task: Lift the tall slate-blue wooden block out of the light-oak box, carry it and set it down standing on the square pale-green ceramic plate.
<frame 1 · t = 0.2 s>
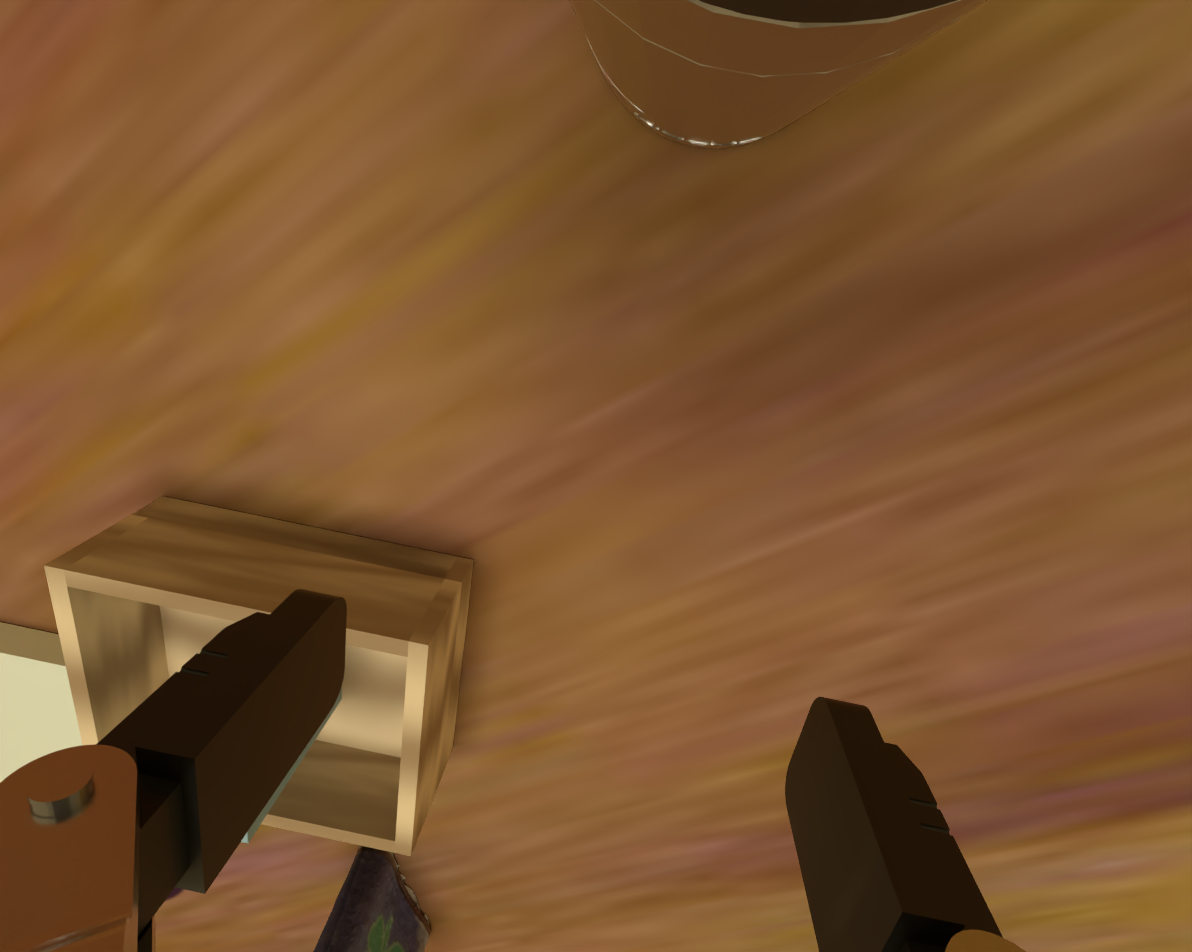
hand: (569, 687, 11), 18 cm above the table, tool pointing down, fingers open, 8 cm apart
block: (298, 655, 32), point 2 cm above the table, touching crate
plate: (45, 719, 38), on the table
crate: (318, 631, 33), on the table
flask: (395, 887, 42), on the table
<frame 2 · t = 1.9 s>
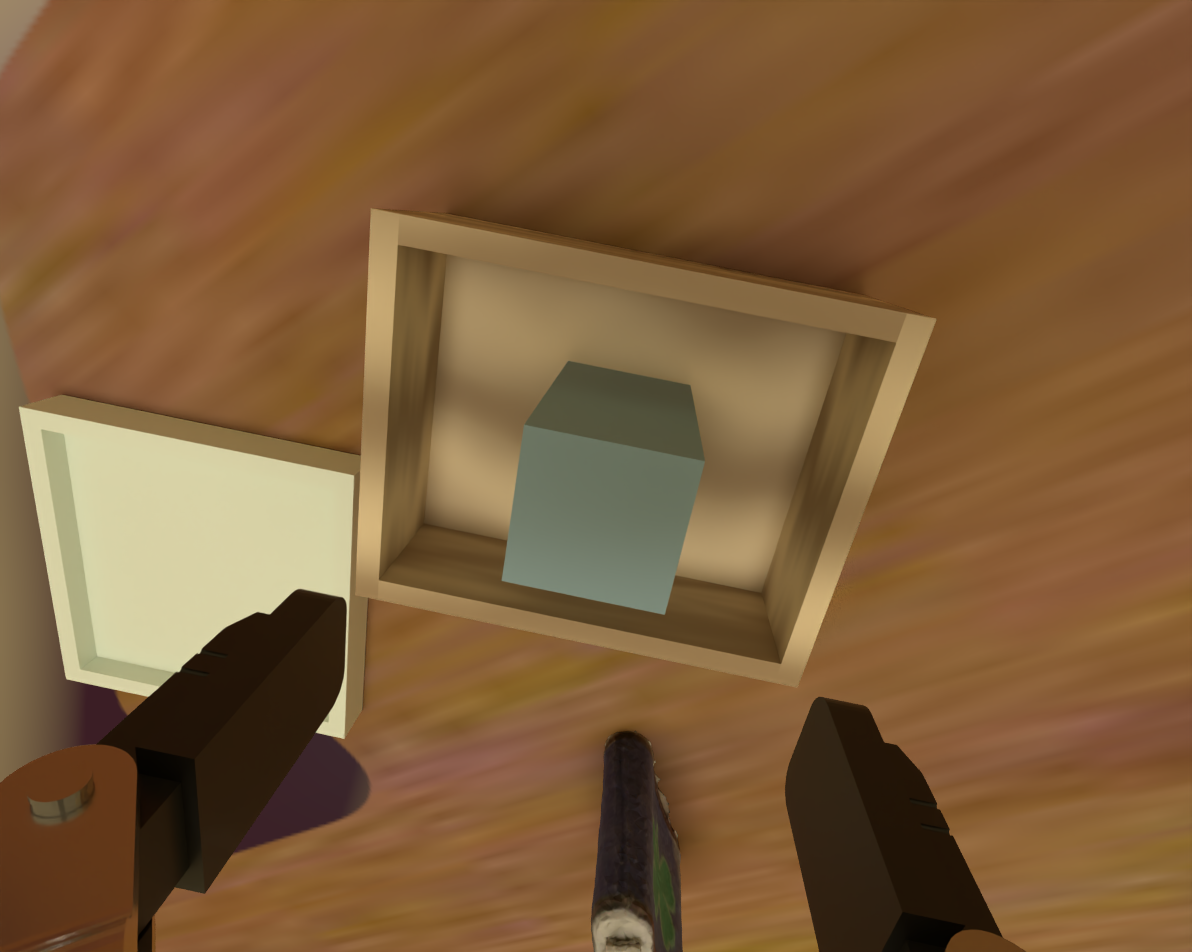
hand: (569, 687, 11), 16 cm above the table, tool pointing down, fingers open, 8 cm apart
block: (617, 431, 24), point 2 cm above the table, touching crate
plate: (224, 565, 30), on the table
crate: (620, 416, 26), on the table
flask: (641, 794, 33), on the table
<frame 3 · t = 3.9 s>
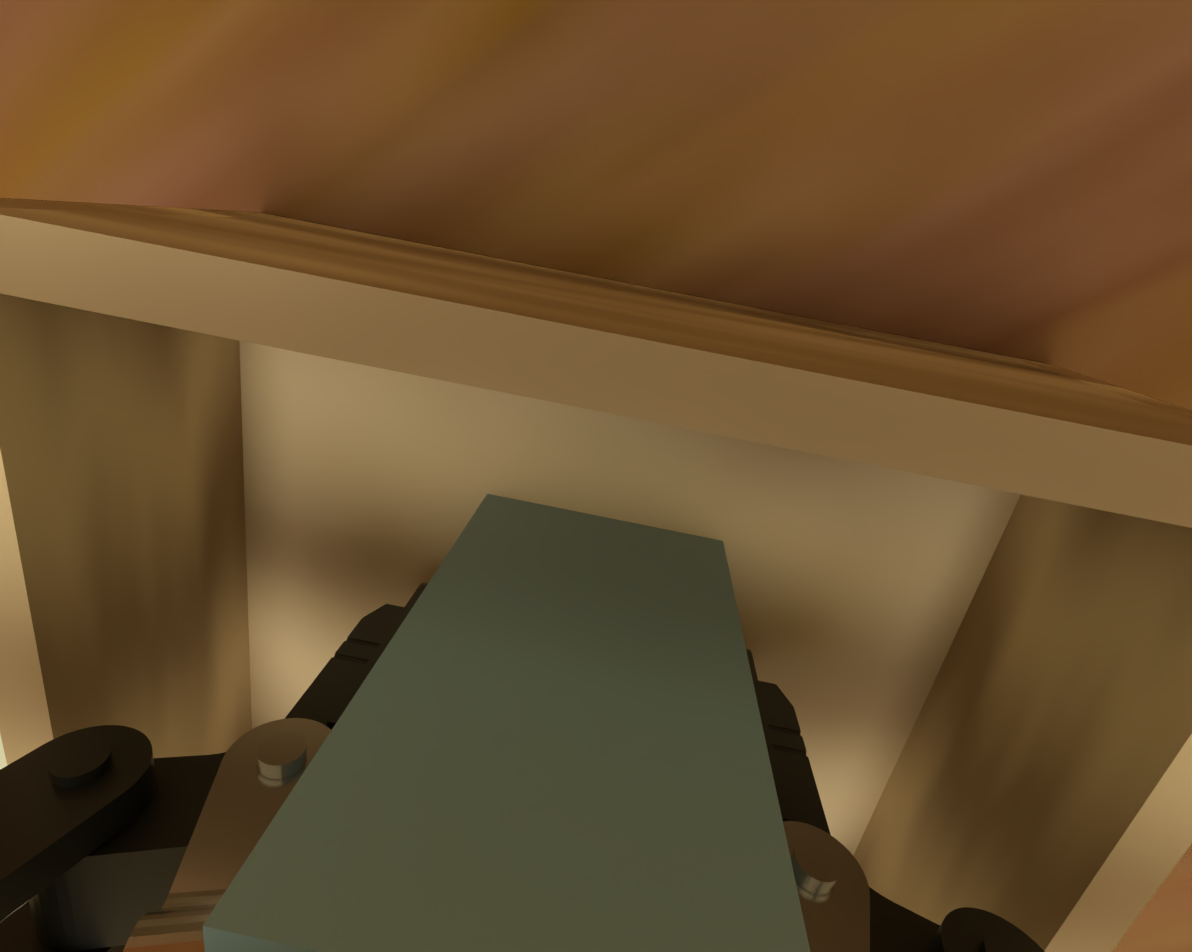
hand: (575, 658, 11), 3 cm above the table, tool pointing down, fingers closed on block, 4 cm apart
block: (584, 617, 13), point 2 cm above the table, touching crate, gripper
crate: (593, 568, 15), on the table
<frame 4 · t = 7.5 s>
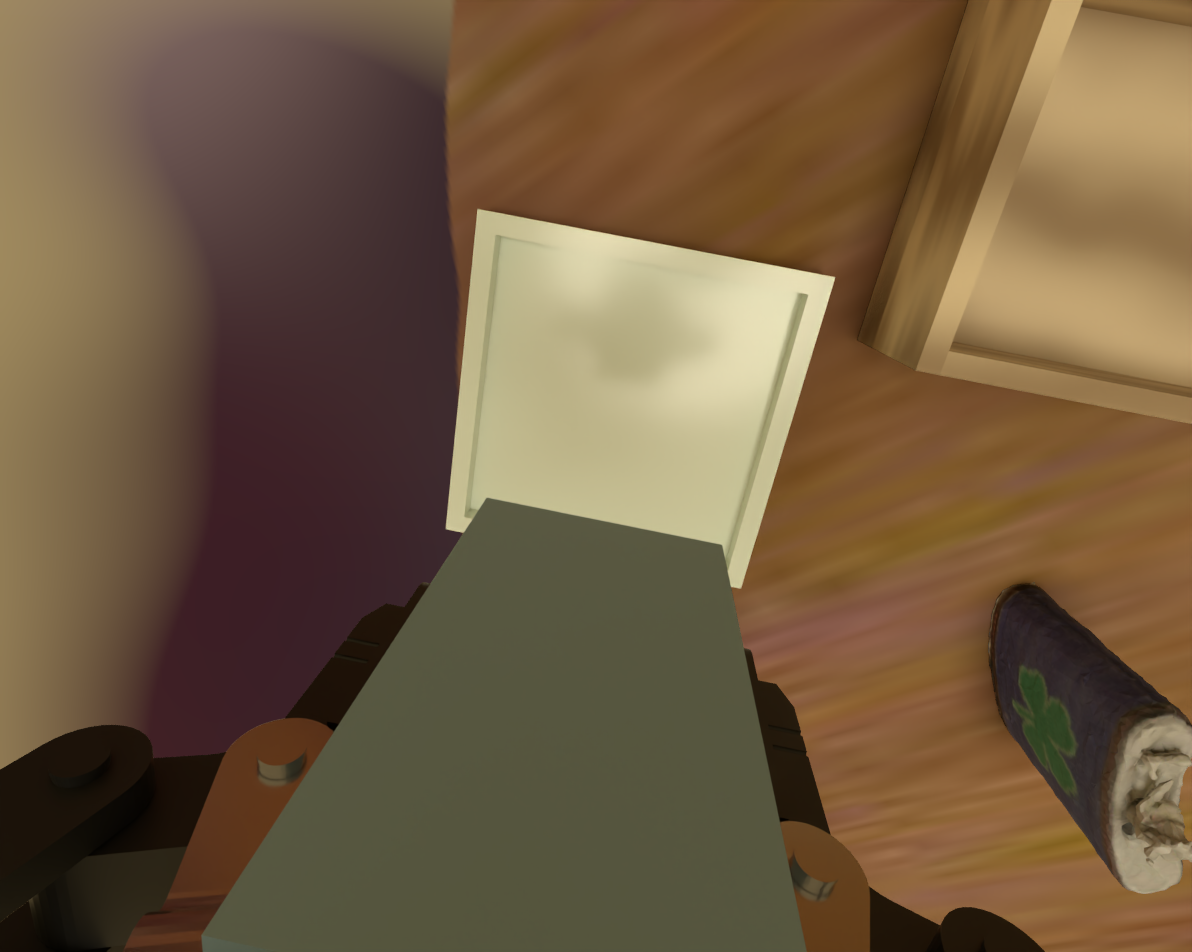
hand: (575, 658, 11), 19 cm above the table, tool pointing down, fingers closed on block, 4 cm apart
block: (583, 620, 13), point 17 cm above the table, touching gripper
plate: (623, 404, 29), on the table
crate: (1110, 216, 24), on the table
flask: (1018, 658, 32), on the table
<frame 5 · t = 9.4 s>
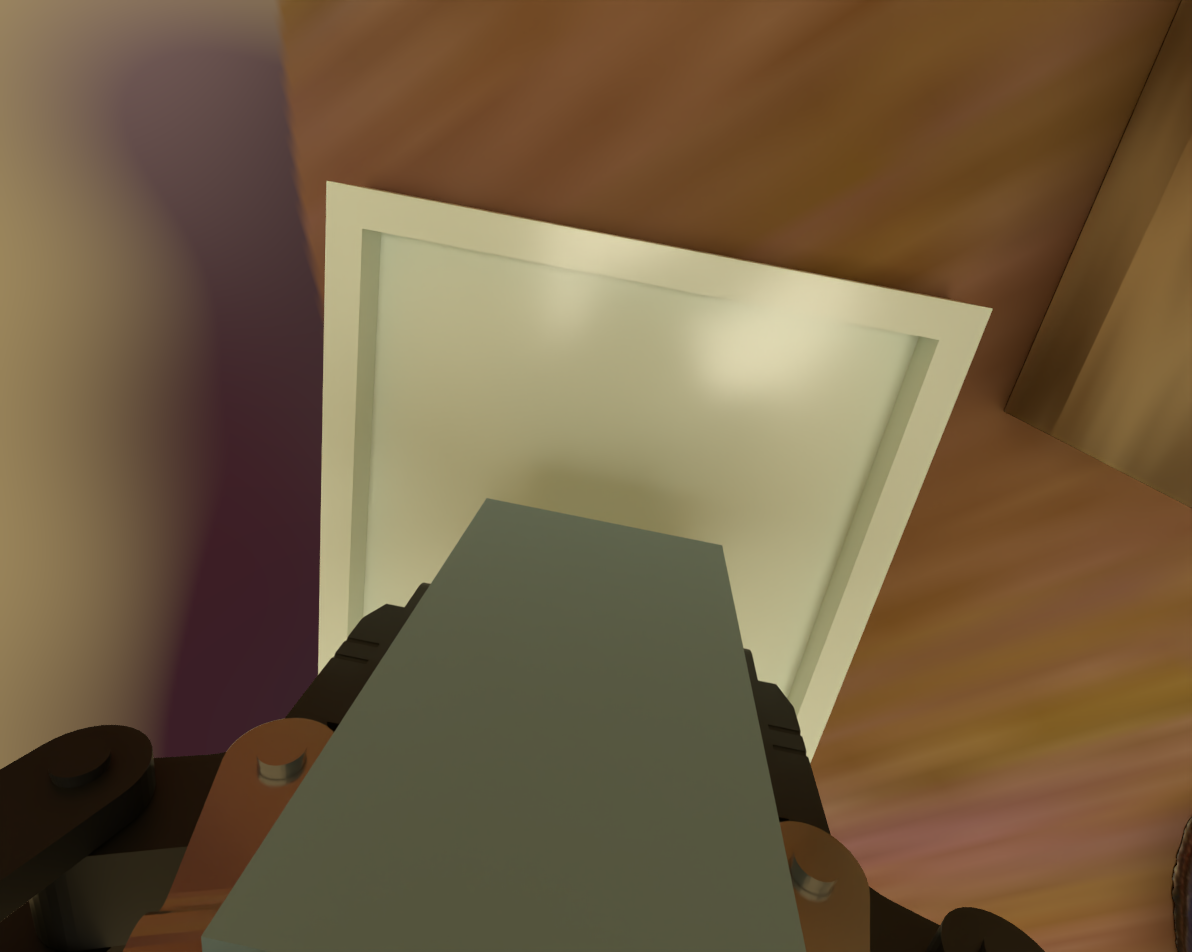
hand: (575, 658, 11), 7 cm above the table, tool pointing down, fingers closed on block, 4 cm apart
block: (583, 621, 13), point 5 cm above the table, touching gripper
plate: (603, 508, 17), on the table
when the fingers open (3 cm above the table, at t = 11.0 s): block stays where it is, resting on plate.
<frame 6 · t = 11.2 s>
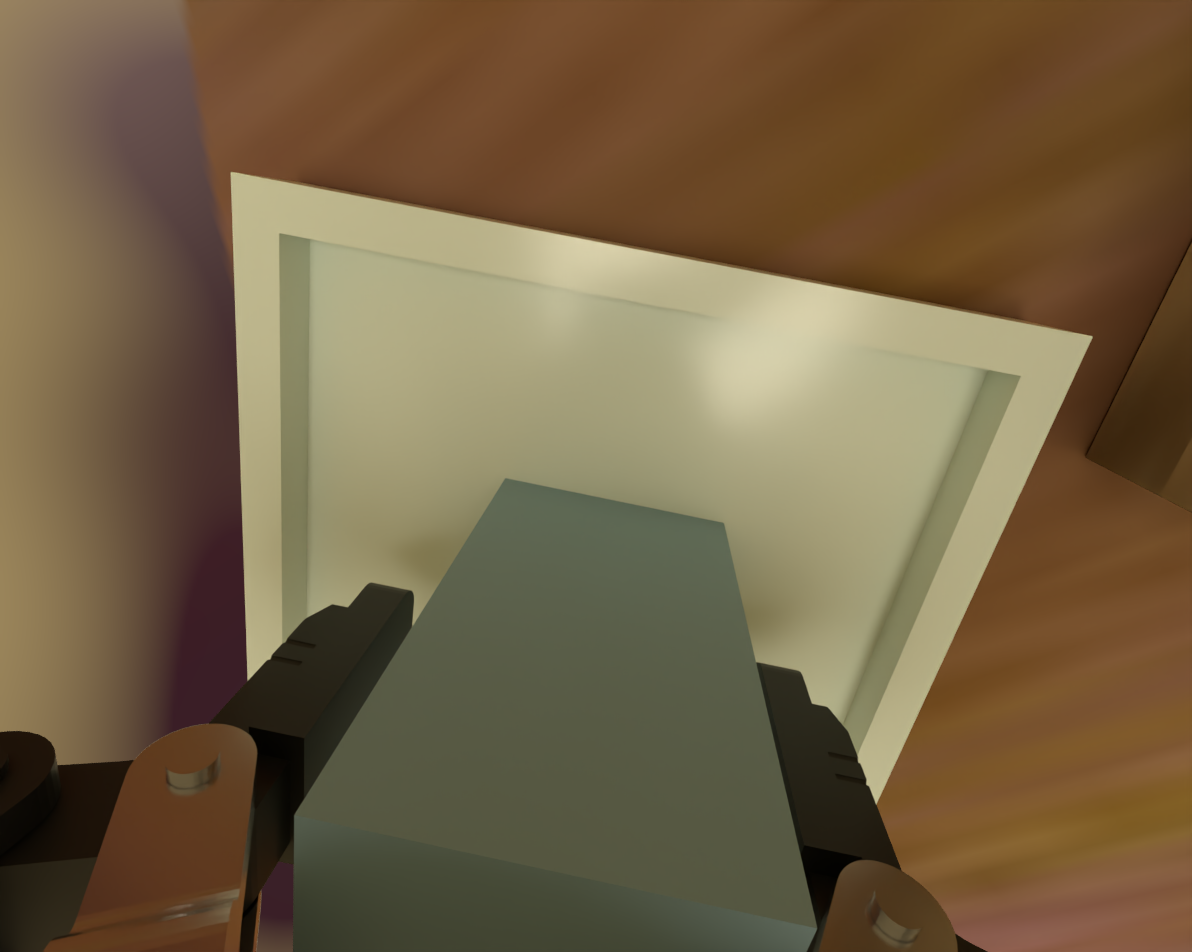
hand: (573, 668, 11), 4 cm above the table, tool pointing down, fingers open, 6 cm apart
block: (594, 594, 14), point 1 cm above the table, touching plate
plate: (592, 569, 15), on the table
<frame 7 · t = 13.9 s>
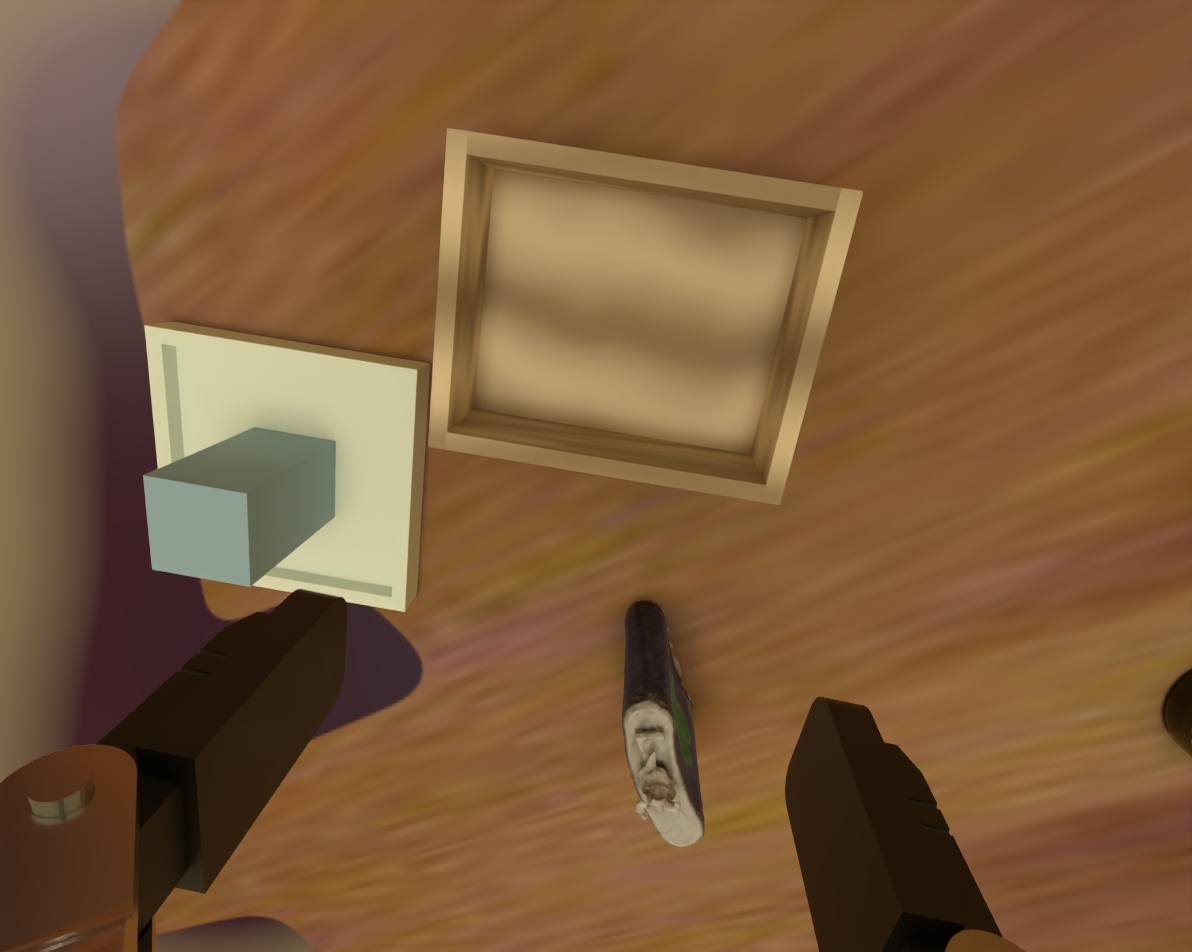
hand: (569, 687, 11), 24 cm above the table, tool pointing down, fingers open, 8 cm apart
block: (295, 472, 35), point 1 cm above the table, touching plate
plate: (302, 466, 36), on the table
crate: (630, 316, 32), on the table
flask: (657, 662, 39), on the table
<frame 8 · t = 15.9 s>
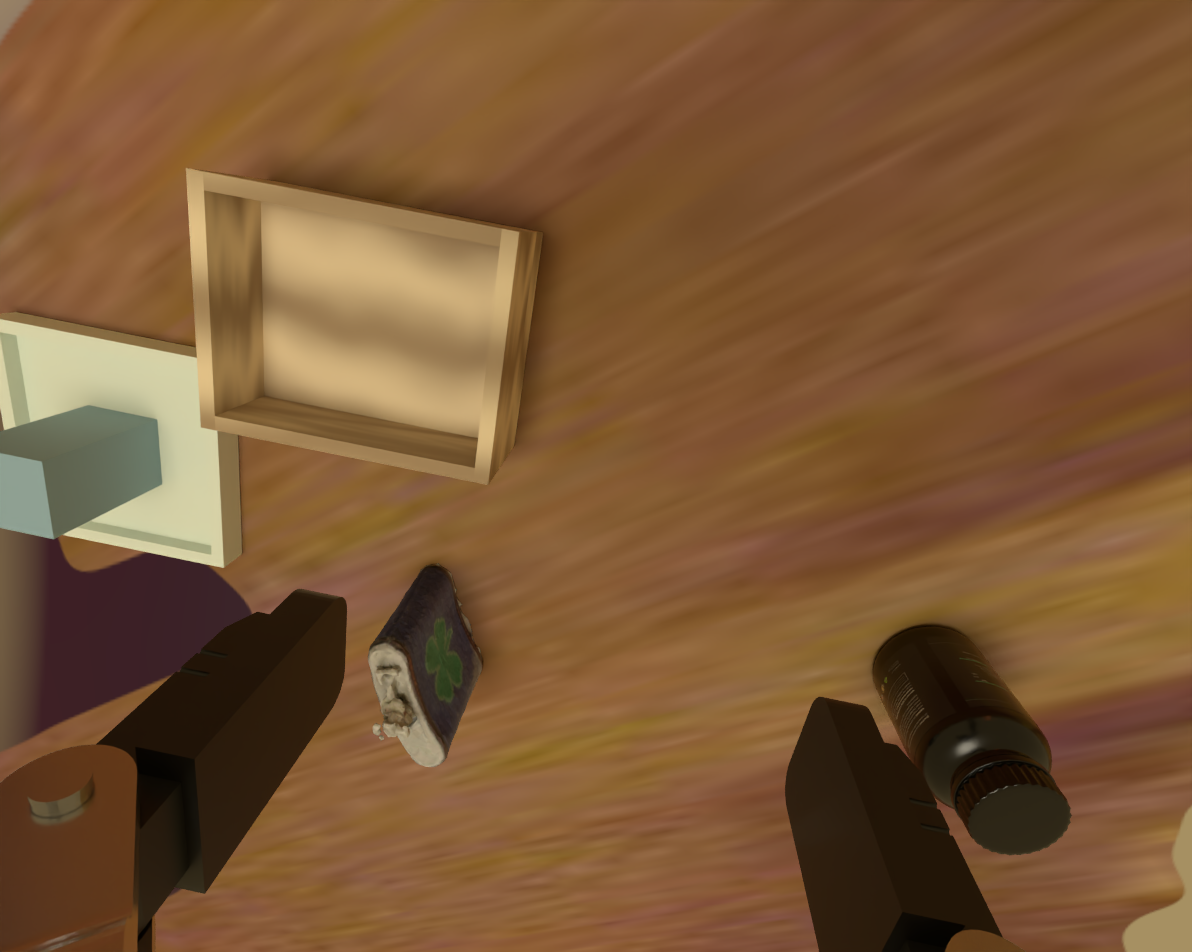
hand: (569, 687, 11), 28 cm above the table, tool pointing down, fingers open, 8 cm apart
block: (126, 445, 41), point 1 cm above the table, touching plate
plate: (135, 439, 42), on the table
crate: (397, 320, 37), on the table
flask: (451, 618, 45), on the table
supplement bottle: (922, 664, 42), on the table
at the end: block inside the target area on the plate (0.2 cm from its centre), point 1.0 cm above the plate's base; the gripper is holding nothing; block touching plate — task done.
